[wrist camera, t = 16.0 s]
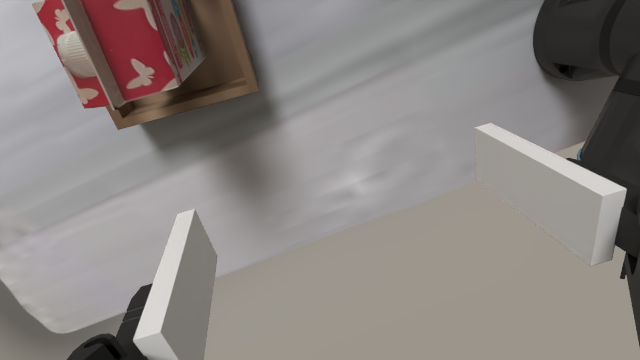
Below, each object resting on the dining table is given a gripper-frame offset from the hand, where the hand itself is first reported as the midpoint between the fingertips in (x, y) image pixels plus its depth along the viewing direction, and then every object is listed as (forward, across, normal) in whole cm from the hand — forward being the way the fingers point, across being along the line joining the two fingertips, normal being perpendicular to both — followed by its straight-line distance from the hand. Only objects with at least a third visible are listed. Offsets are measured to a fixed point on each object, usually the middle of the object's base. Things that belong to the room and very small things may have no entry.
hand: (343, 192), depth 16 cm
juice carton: (+32, +11, -8) cm, 35 cm away
